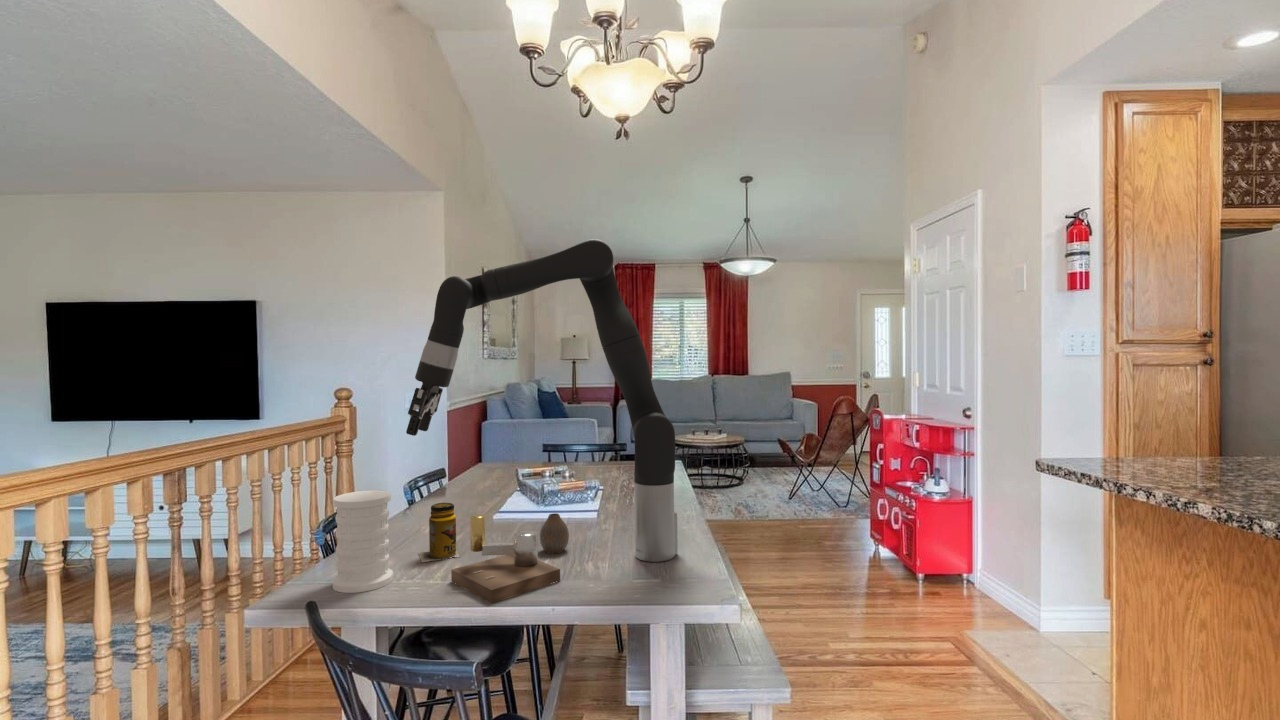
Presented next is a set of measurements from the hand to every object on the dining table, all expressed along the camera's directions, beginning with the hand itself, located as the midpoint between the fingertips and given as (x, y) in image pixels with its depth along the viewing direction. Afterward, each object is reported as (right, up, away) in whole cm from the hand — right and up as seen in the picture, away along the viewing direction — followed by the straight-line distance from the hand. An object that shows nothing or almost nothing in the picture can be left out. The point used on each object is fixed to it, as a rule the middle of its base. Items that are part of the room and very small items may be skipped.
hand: (416, 432), depth 136 cm
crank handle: (+21, -27, -8) cm, 35 cm away
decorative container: (-7, -30, -10) cm, 33 cm away
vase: (+30, -30, +9) cm, 43 cm away
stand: (+22, -30, -11) cm, 39 cm away
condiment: (+3, -30, +7) cm, 31 cm away
